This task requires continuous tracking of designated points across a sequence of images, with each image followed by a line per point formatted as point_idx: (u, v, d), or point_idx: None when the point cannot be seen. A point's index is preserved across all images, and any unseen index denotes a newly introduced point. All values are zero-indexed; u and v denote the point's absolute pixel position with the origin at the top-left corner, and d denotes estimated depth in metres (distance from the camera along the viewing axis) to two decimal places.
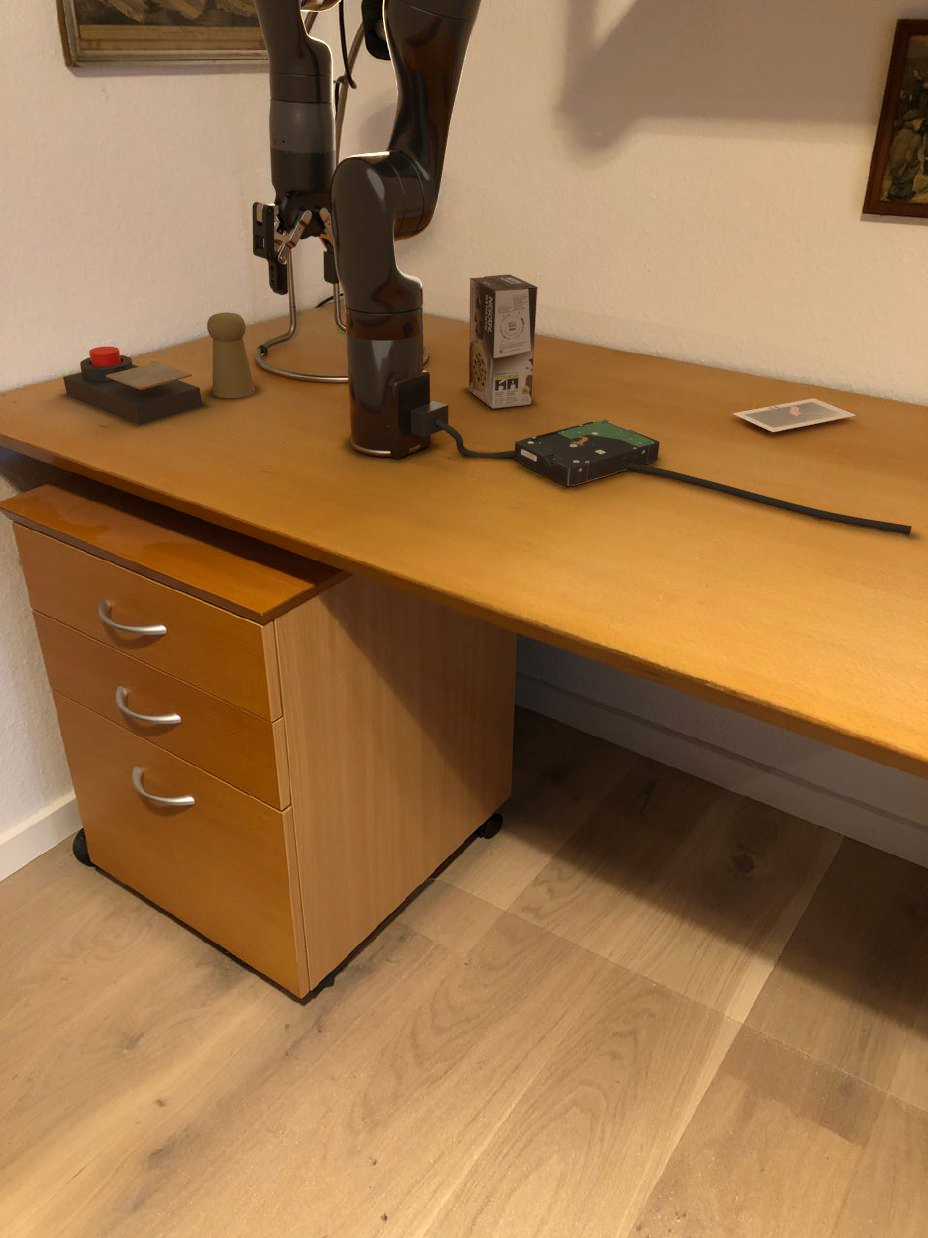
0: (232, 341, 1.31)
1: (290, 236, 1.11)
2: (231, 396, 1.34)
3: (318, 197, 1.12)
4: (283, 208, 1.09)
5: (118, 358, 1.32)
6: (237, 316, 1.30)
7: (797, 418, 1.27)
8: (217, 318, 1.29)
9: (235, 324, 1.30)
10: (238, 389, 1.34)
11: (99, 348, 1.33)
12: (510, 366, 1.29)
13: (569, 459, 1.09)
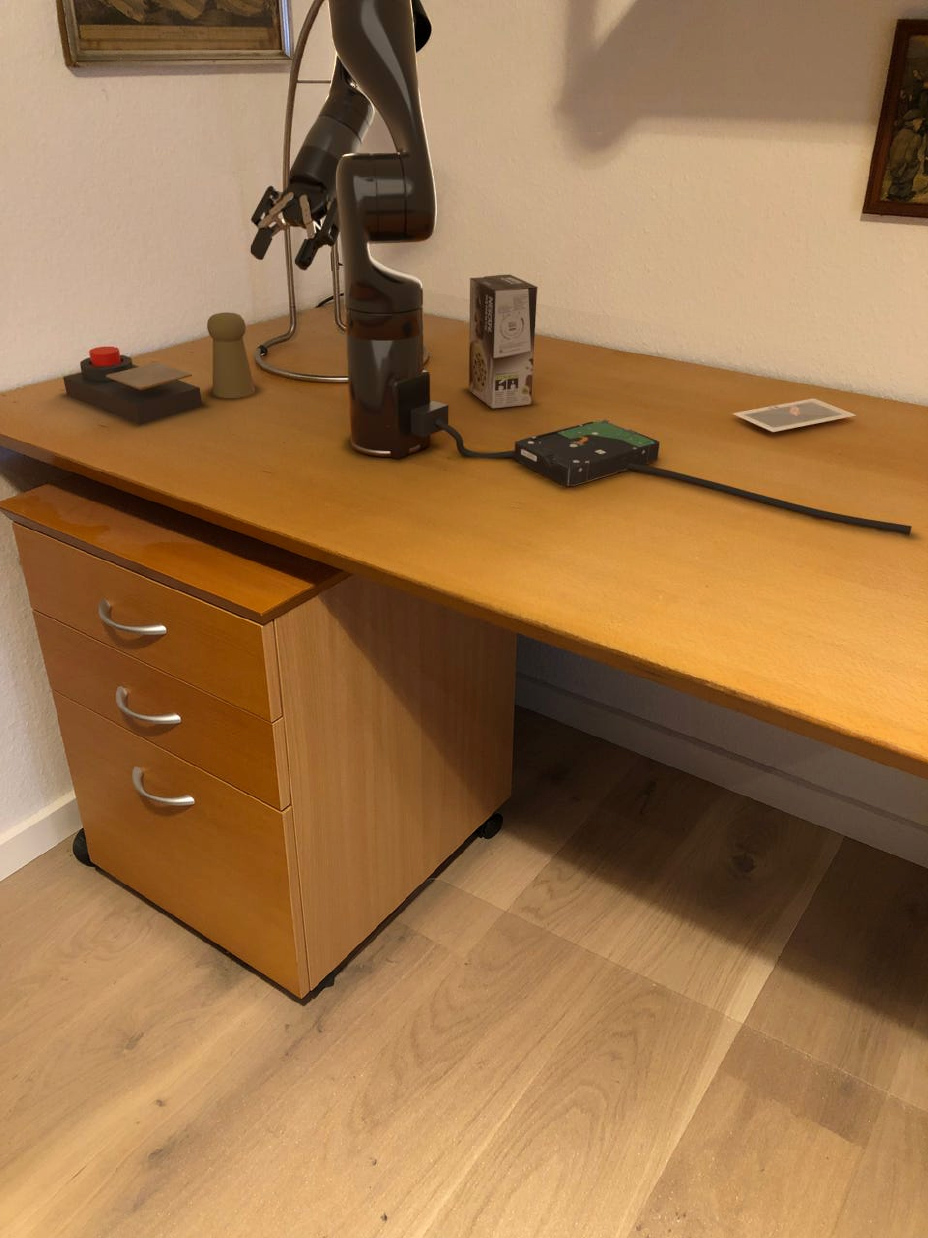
0: (232, 341, 1.31)
1: (272, 208, 1.34)
2: (231, 396, 1.34)
3: (311, 192, 1.33)
4: (282, 192, 1.35)
5: (118, 358, 1.32)
6: (237, 316, 1.30)
7: (797, 418, 1.27)
8: (217, 318, 1.29)
9: (235, 324, 1.30)
10: (238, 389, 1.34)
11: (99, 348, 1.33)
12: (510, 366, 1.29)
13: (569, 459, 1.09)
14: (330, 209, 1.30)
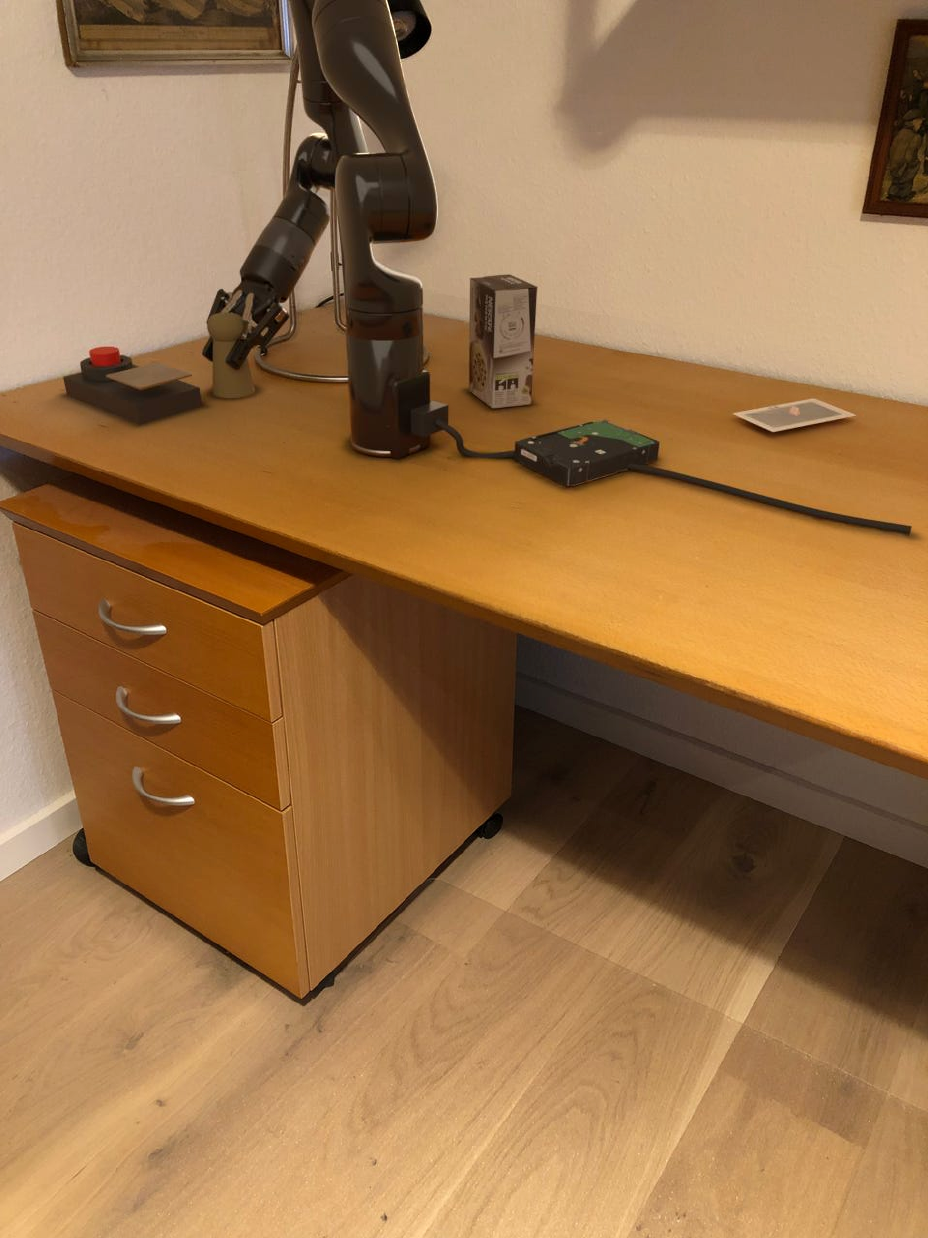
0: (232, 341, 1.31)
1: (223, 310, 1.34)
2: (231, 396, 1.34)
3: (259, 290, 1.32)
4: None
5: (118, 358, 1.32)
6: (237, 316, 1.30)
7: (797, 418, 1.27)
8: (217, 318, 1.29)
9: (235, 324, 1.30)
10: (238, 389, 1.34)
11: (99, 348, 1.33)
12: (510, 366, 1.29)
13: (569, 459, 1.09)
14: (268, 312, 1.29)
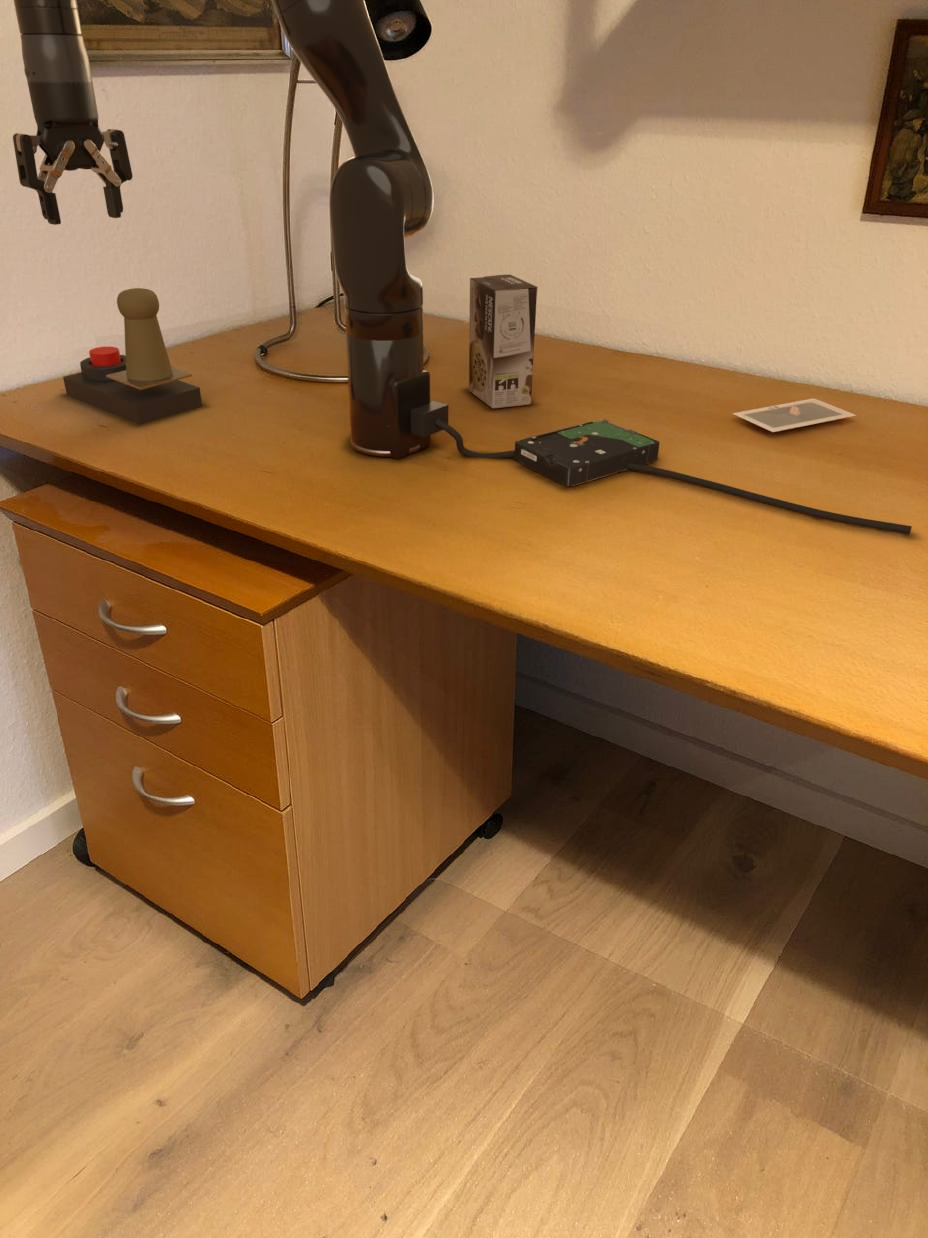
0: (143, 318, 1.22)
1: (53, 165, 1.17)
2: (145, 378, 1.25)
3: (82, 130, 1.19)
4: (43, 138, 1.16)
5: (118, 358, 1.32)
6: (148, 292, 1.21)
7: (797, 418, 1.27)
8: (127, 294, 1.20)
9: (146, 300, 1.21)
10: (152, 370, 1.24)
11: (99, 348, 1.33)
12: (510, 366, 1.29)
13: (569, 459, 1.09)
14: (120, 146, 1.23)
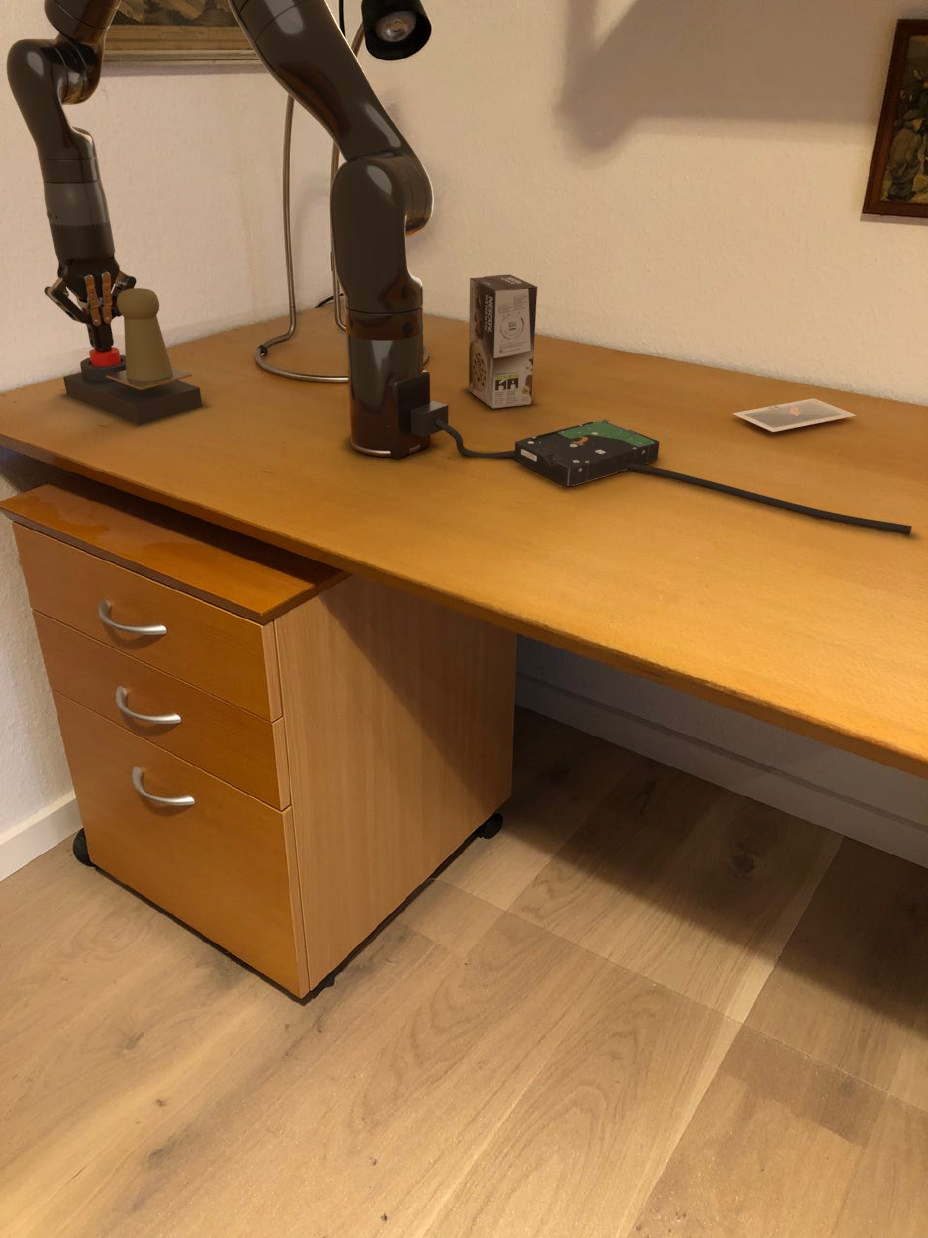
0: (143, 318, 1.22)
1: (89, 304, 1.27)
2: (145, 378, 1.25)
3: (100, 263, 1.26)
4: (64, 274, 1.23)
5: (118, 359, 1.32)
6: (148, 292, 1.21)
7: (797, 418, 1.27)
8: (127, 294, 1.20)
9: (146, 300, 1.21)
10: (152, 370, 1.24)
11: None
12: (510, 366, 1.29)
13: (569, 459, 1.09)
14: (127, 288, 1.30)
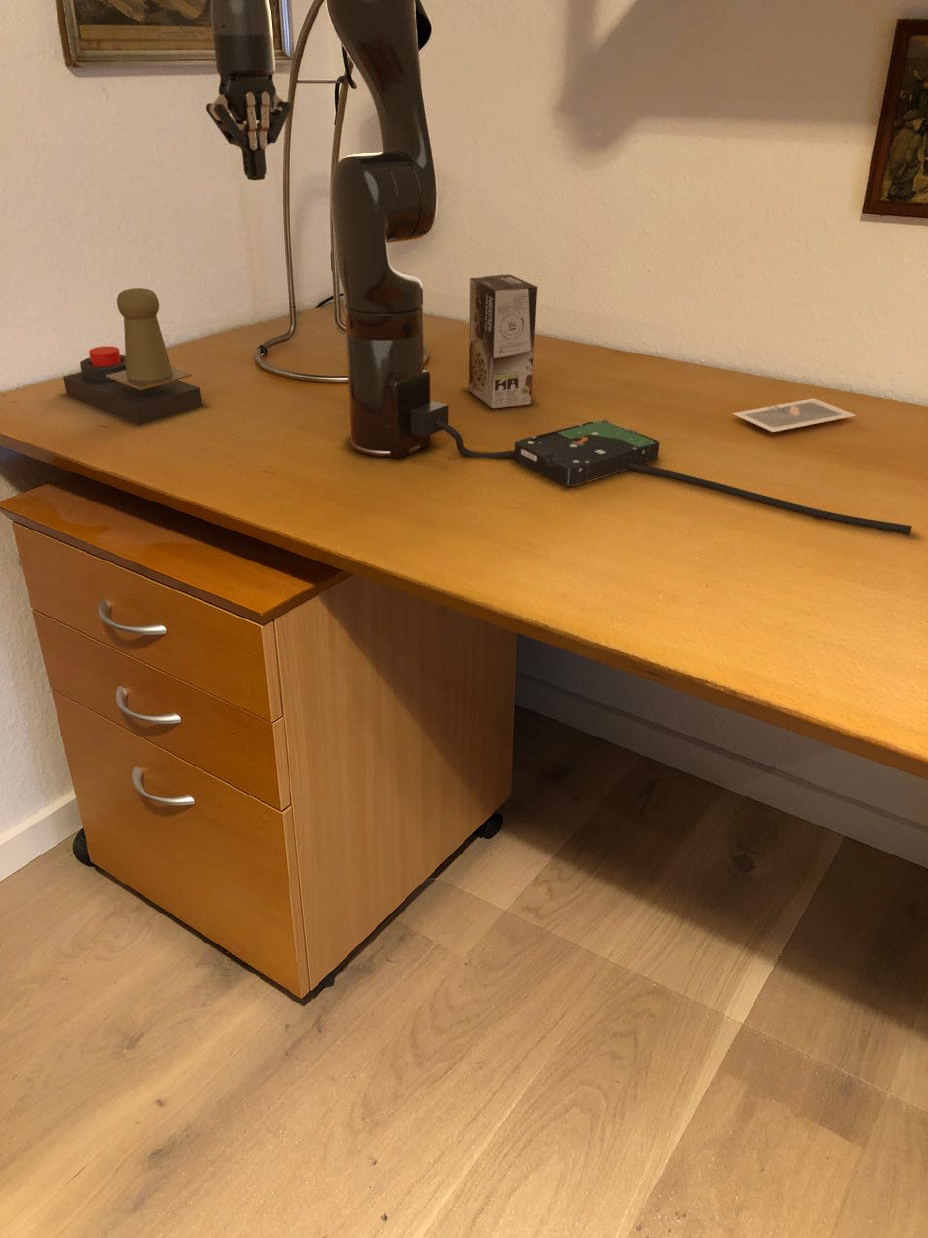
0: (143, 318, 1.22)
1: (248, 124, 1.25)
2: (145, 378, 1.25)
3: (260, 82, 1.25)
4: (227, 89, 1.22)
5: (118, 358, 1.32)
6: (148, 292, 1.21)
7: (797, 418, 1.27)
8: (127, 294, 1.20)
9: (146, 300, 1.21)
10: (152, 370, 1.24)
11: (99, 348, 1.33)
12: (510, 366, 1.29)
13: (569, 459, 1.09)
14: (282, 113, 1.29)
